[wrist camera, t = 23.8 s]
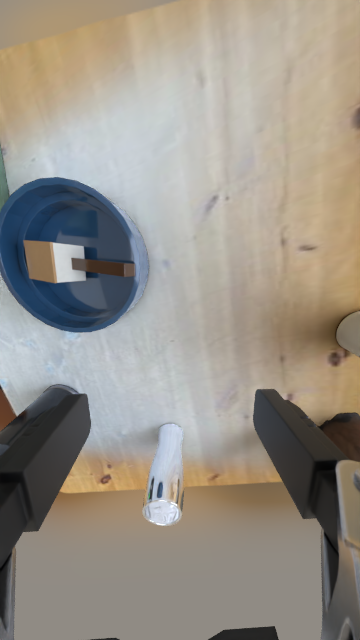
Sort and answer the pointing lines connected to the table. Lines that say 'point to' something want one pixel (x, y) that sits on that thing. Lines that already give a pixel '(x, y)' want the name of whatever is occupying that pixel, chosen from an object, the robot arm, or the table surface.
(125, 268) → the mallet with brown handle
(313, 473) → the robot arm
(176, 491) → the beer glass
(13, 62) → the table surface
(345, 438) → the owl
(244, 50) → the table surface
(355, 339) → the travel mug
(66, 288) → the bowl
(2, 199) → the stand
